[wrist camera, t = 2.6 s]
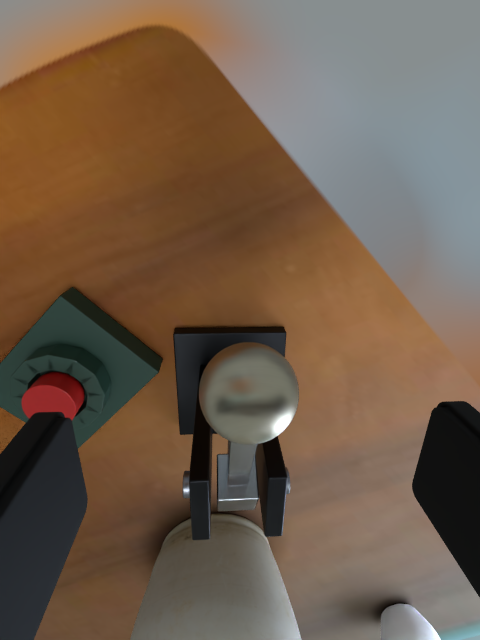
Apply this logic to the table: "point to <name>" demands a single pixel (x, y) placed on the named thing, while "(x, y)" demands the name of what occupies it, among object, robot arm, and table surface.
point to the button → (54, 395)
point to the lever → (246, 413)
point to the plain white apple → (405, 624)
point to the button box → (79, 361)
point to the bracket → (271, 472)
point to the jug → (216, 587)
